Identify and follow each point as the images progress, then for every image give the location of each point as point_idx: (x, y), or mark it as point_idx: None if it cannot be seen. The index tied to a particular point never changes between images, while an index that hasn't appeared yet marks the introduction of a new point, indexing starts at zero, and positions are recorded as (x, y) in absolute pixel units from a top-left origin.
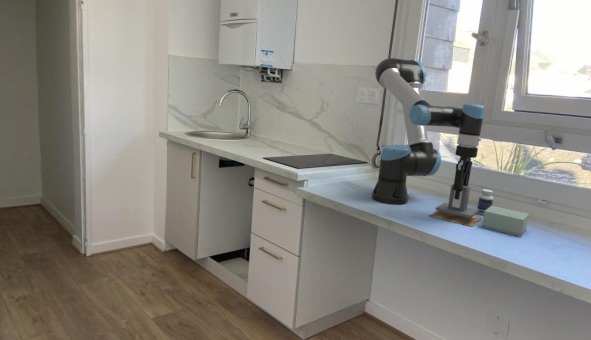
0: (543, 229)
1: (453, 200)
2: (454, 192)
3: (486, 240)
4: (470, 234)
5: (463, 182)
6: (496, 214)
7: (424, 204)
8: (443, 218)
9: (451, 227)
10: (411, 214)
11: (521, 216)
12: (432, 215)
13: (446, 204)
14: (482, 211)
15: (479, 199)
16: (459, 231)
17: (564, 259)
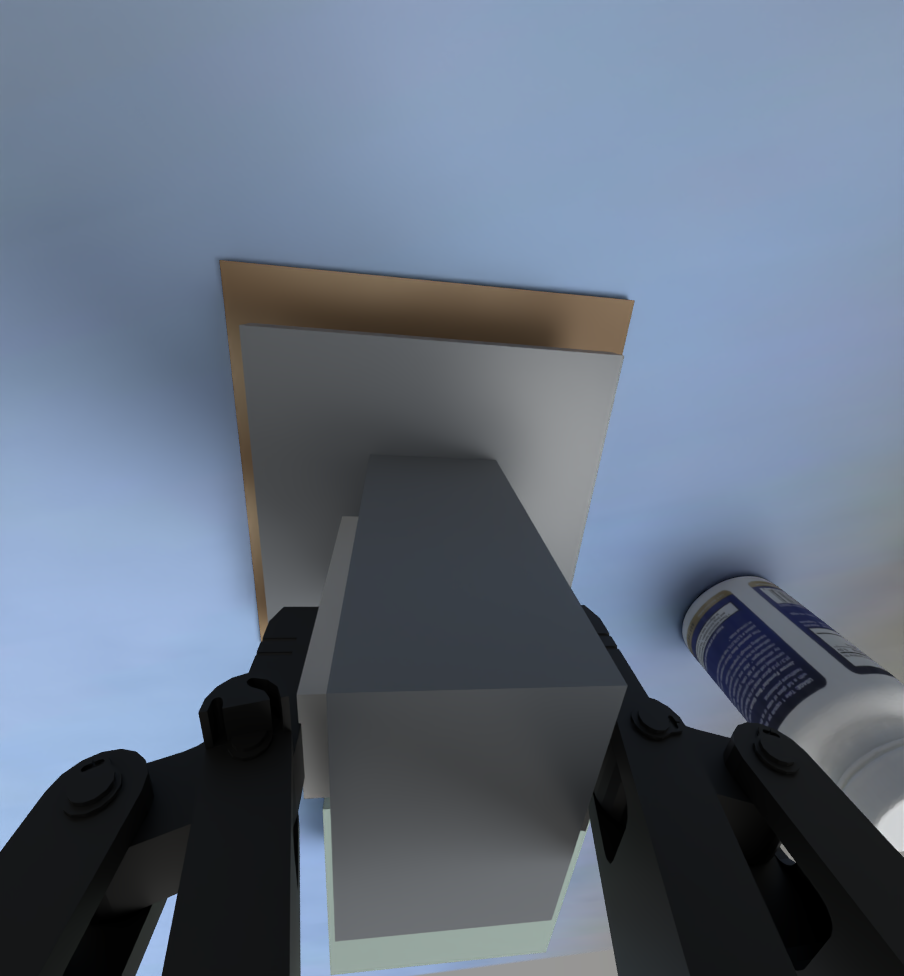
0: (589, 864)
1: (331, 566)
2: (306, 656)
3: (44, 761)
4: (57, 676)
5: (627, 909)
6: (327, 864)
7: (739, 36)
8: (246, 426)
9: (74, 540)
10: (57, 6)
11: (421, 951)
12: (246, 296)
13: (527, 398)
14: (697, 636)
15: (810, 672)
16: (36, 610)
17: (158, 972)
